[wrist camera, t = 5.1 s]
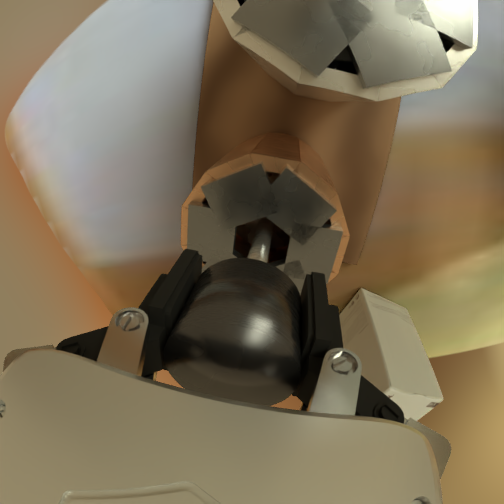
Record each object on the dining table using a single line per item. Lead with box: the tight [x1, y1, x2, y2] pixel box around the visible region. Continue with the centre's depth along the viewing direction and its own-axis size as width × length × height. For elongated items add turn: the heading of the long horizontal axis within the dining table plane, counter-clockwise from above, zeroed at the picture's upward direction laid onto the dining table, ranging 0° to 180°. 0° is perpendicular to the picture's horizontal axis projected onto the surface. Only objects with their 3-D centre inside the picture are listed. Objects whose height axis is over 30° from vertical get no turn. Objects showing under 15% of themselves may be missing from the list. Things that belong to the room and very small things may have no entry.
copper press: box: [181, 132, 350, 295], centre depth 22 cm, size 10×12×13 cm
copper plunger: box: [163, 171, 302, 406], centre depth 15 cm, size 6×6×15 cm
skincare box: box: [339, 288, 443, 421], centre depth 28 cm, size 8×6×15 cm
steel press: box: [213, 0, 478, 102], centre depth 12 cm, size 11×13×17 cm
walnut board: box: [192, 3, 401, 265], centre depth 24 cm, size 18×30×1 cm, turn 173°
